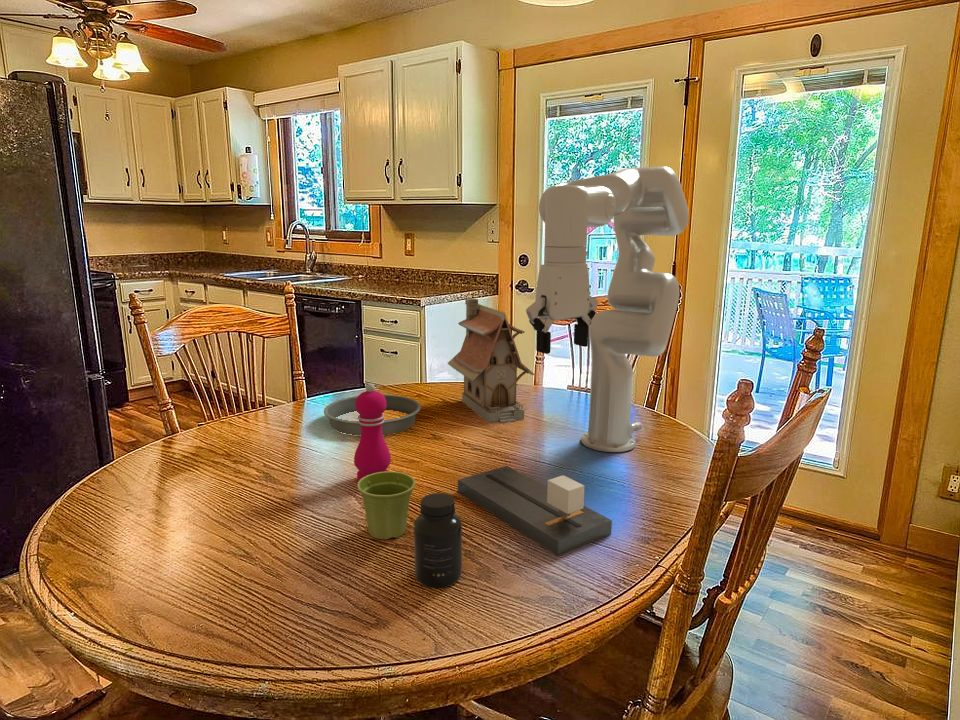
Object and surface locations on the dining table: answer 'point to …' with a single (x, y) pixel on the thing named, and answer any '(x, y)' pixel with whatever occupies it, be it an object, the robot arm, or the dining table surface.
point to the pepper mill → (371, 434)
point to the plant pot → (386, 502)
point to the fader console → (533, 510)
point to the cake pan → (388, 426)
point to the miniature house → (489, 364)
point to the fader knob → (565, 495)
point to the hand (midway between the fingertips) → (562, 348)
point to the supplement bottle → (438, 542)
